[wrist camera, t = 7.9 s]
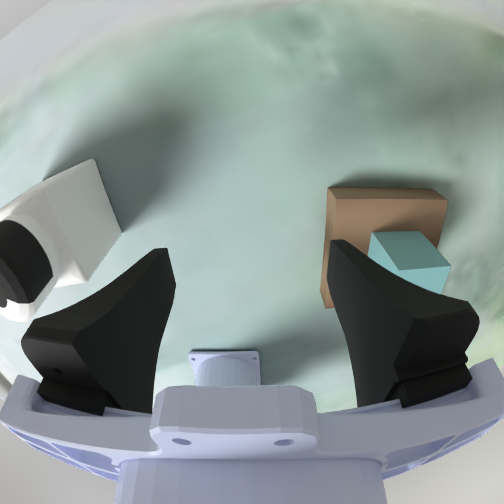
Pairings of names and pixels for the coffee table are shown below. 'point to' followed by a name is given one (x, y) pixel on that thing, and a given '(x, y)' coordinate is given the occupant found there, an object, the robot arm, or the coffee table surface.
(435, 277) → the teal block
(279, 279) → the coffee table surface
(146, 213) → the coffee table surface
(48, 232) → the medicine bottle
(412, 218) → the walnut slab
